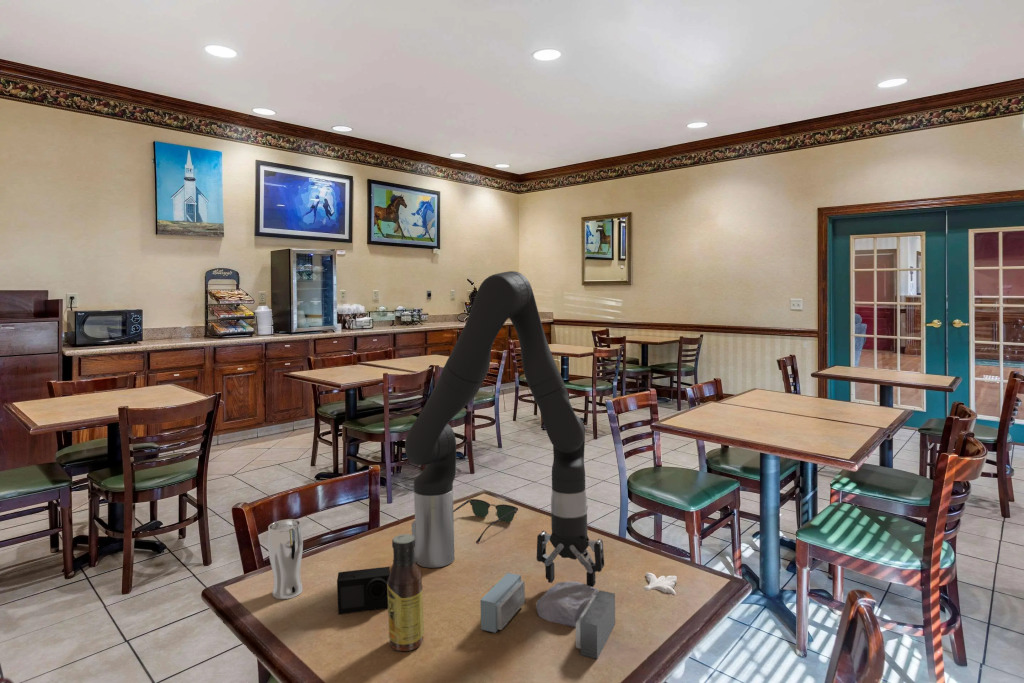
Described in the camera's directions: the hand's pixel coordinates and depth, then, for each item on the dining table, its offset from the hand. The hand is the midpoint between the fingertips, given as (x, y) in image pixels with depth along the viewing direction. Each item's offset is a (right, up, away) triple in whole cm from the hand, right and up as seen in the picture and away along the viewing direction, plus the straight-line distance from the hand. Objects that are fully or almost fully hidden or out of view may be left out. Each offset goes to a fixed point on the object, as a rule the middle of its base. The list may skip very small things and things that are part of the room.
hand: (570, 584), depth 123 cm
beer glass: (-61, -3, +2) cm, 61 cm away
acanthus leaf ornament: (+20, -2, +3) cm, 20 cm away
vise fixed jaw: (+3, -3, -17) cm, 17 cm away
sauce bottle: (-31, -4, -18) cm, 36 cm away
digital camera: (-42, -3, -4) cm, 43 cm away
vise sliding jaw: (-14, -2, -9) cm, 17 cm away
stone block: (-2, -3, -6) cm, 7 cm away
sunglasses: (-22, 0, +37) cm, 43 cm away
